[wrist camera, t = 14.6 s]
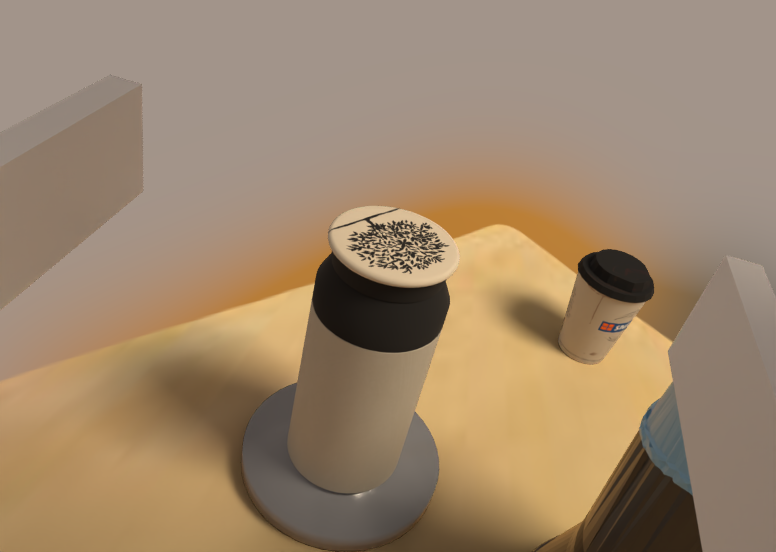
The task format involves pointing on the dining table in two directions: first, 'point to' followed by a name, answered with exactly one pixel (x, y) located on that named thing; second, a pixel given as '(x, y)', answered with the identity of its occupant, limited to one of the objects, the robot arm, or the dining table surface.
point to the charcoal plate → (327, 508)
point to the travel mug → (368, 345)
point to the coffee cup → (603, 303)
